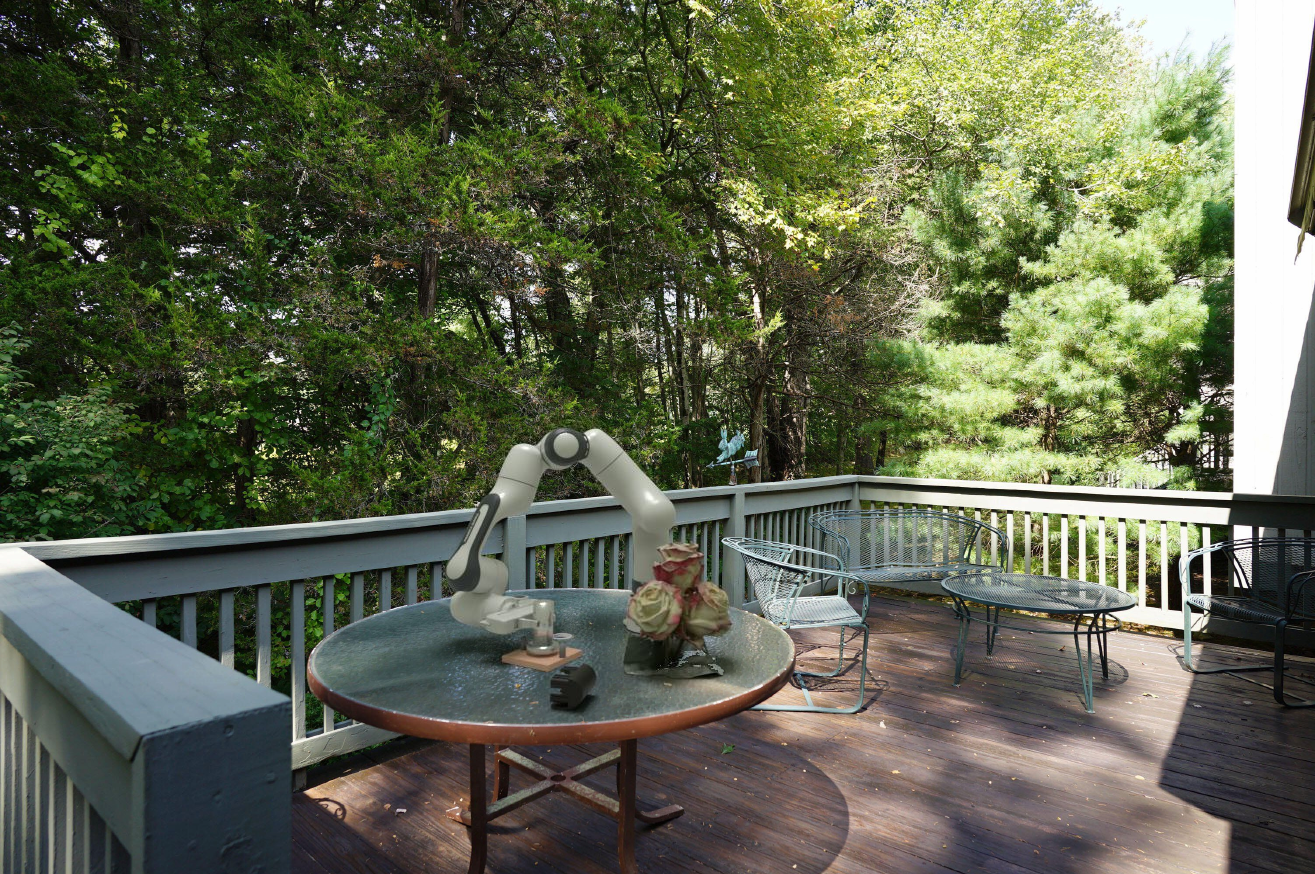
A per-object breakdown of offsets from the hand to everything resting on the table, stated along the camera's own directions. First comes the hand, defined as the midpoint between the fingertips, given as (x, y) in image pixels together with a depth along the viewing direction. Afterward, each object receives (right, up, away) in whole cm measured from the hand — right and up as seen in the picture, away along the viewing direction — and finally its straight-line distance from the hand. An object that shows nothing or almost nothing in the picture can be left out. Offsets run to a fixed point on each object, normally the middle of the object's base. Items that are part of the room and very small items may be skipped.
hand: (546, 621), depth 177 cm
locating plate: (-1, -9, 0) cm, 9 cm away
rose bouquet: (+33, -10, -1) cm, 35 cm away
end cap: (+10, -10, -27) cm, 31 cm away
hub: (-1, -7, 0) cm, 7 cm away
